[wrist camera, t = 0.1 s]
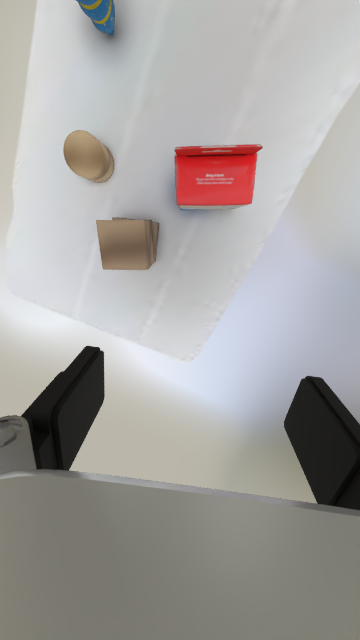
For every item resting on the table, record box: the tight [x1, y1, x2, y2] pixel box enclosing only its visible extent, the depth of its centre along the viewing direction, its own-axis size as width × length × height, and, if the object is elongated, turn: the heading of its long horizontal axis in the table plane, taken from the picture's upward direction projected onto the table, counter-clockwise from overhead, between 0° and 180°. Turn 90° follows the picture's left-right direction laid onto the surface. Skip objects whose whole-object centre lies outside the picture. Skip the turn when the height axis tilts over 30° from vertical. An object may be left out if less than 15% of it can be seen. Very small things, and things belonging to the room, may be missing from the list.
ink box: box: [175, 145, 262, 210], centre depth 28 cm, size 8×5×15 cm, turn 91°
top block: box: [96, 220, 154, 270], centre depth 31 cm, size 6×6×5 cm
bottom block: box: [112, 218, 159, 262], centre depth 36 cm, size 6×6×5 cm
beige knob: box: [64, 130, 114, 182], centre depth 32 cm, size 5×5×5 cm
